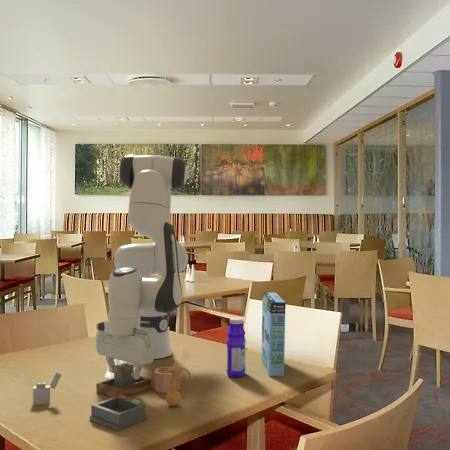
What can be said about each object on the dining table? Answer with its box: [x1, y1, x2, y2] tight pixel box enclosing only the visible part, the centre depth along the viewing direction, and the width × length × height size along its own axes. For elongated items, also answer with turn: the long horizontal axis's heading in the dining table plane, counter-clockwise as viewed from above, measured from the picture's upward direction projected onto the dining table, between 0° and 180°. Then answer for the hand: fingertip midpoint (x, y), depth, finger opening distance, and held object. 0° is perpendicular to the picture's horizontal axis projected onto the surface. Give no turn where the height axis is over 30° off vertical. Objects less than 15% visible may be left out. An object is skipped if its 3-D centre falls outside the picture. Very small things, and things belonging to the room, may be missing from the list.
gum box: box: [260, 292, 287, 378], centre depth 169 cm, size 20×5×23 cm, turn 3°
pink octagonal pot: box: [154, 366, 181, 395], centre depth 148 cm, size 7×7×5 cm
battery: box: [113, 361, 135, 388], centre depth 147 cm, size 3×4×6 cm, turn 142°
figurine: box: [159, 360, 192, 407], centre depth 134 cm, size 8×6×12 cm
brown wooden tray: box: [95, 375, 152, 398], centre depth 147 cm, size 9×12×2 cm
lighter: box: [32, 370, 63, 406], centre depth 137 cm, size 7×2×8 cm, turn 105°
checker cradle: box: [89, 395, 147, 432], centre depth 126 cm, size 10×9×4 cm
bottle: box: [226, 316, 247, 378], centre depth 162 cm, size 7×6×17 cm
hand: (124, 375), depth 147 cm, fingers open, 8 cm apart
